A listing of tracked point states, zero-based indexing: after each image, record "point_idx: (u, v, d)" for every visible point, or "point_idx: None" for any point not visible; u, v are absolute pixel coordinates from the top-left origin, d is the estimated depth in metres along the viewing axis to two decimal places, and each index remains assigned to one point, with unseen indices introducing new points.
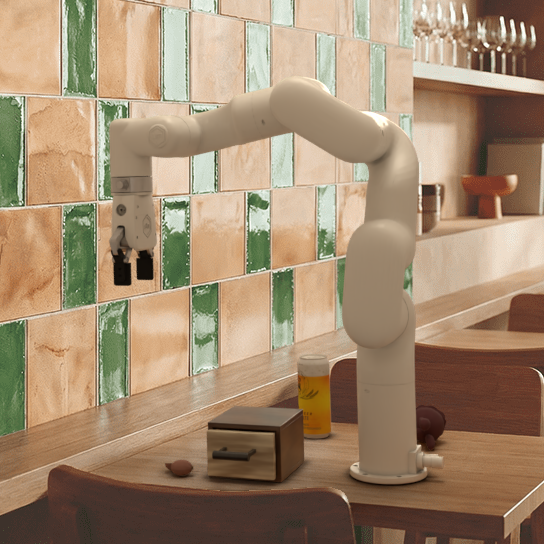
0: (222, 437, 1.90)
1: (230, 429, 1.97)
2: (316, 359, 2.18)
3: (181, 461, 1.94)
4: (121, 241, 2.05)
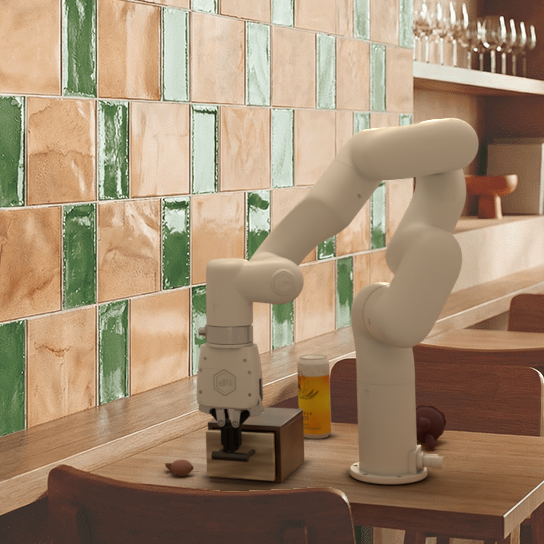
0: None
1: None
2: (316, 359, 2.18)
3: (181, 461, 1.94)
4: None
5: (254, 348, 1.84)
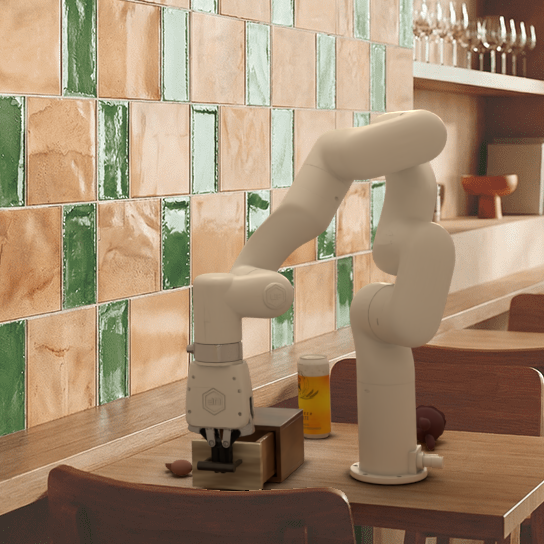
0: (208, 447, 1.83)
1: None
2: (316, 359, 2.18)
3: (181, 461, 1.94)
4: None
5: (244, 365, 1.78)
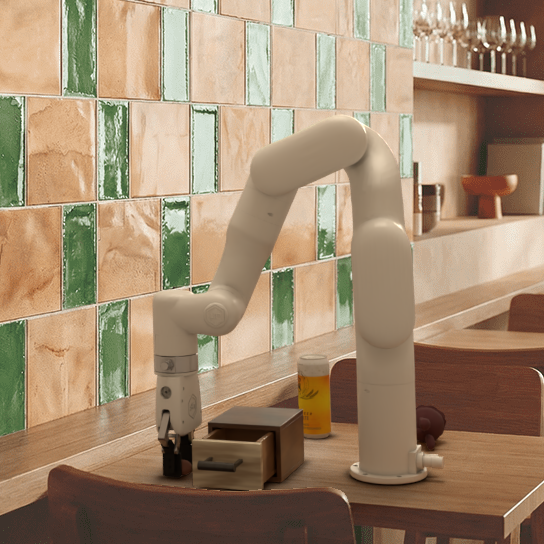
0: (208, 447, 1.84)
1: (217, 438, 1.91)
2: (316, 359, 2.18)
3: None
4: None
5: None
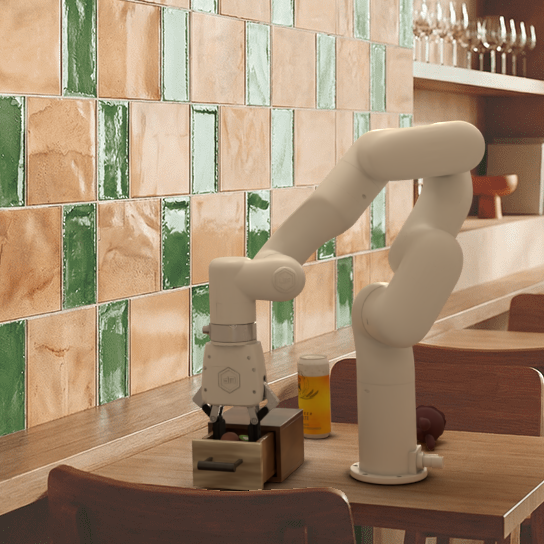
0: (208, 447, 1.84)
1: None
2: (316, 359, 2.18)
3: (226, 433, 1.87)
4: None
5: (258, 345, 1.85)
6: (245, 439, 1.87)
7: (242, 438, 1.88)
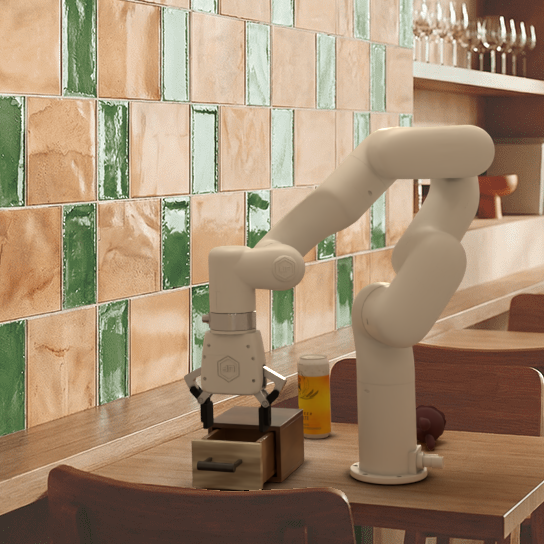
0: (208, 447, 1.83)
1: (216, 438, 1.91)
2: (316, 359, 2.18)
3: None
4: None
5: (257, 334, 1.85)
6: None
7: None
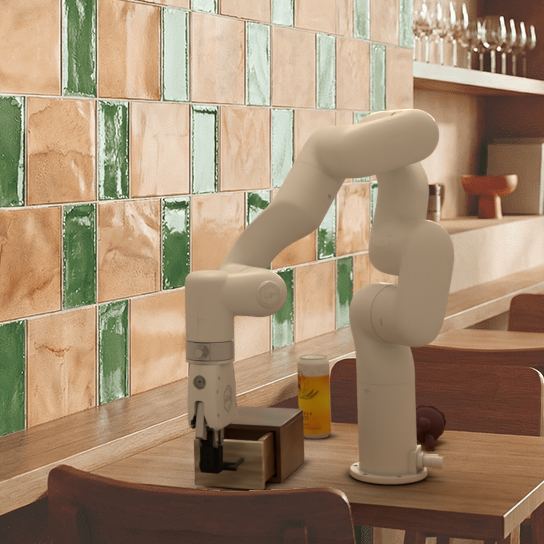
0: None
1: None
2: (316, 359, 2.18)
3: None
4: None
5: None
6: None
7: None
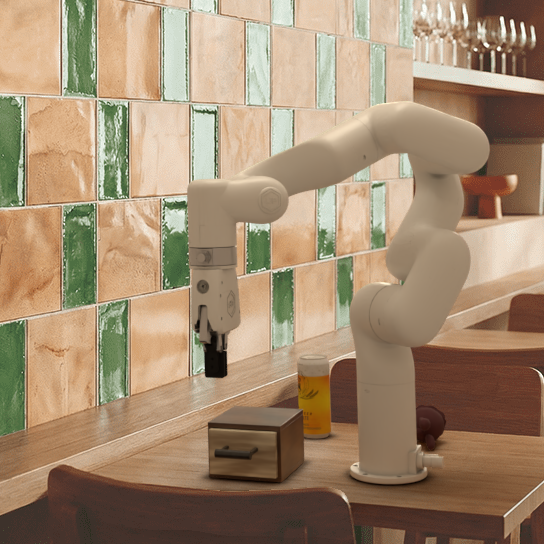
0: (225, 436, 1.91)
1: (232, 428, 1.98)
2: (316, 359, 2.18)
3: None
4: None
5: None
6: None
7: None
